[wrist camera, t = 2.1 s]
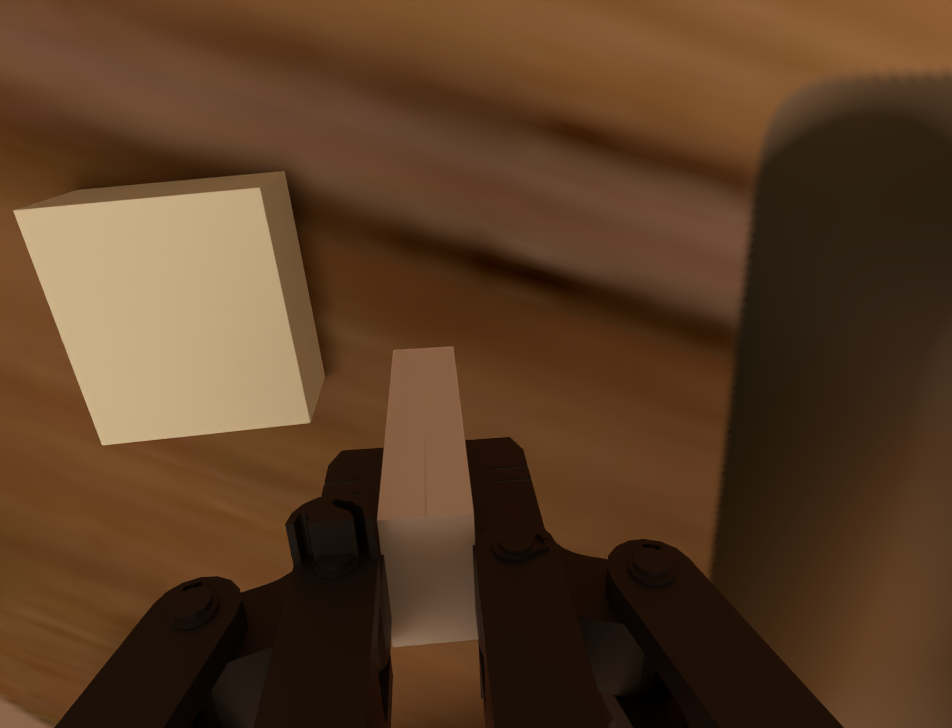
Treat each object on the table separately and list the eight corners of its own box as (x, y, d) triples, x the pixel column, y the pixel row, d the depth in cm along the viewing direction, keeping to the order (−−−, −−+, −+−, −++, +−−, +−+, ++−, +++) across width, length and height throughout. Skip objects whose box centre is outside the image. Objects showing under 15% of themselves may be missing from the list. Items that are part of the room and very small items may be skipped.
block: (325, 374, 29) (310, 422, 25) (147, 392, 28) (102, 445, 24) (285, 170, 25) (259, 187, 21) (80, 189, 25) (13, 210, 21)
